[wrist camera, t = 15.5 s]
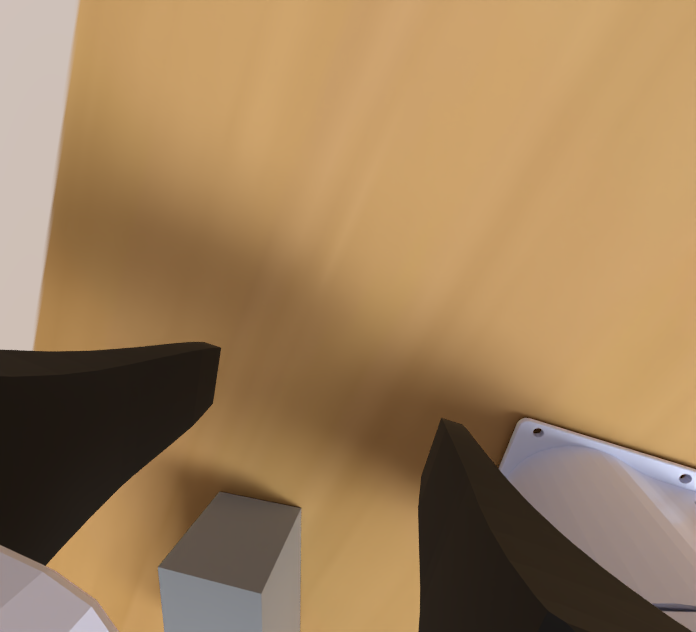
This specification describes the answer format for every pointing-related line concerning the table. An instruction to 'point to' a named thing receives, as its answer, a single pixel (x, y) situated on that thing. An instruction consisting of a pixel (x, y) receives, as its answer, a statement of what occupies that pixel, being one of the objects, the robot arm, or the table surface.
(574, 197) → the table surface
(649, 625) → the robot arm
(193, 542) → the tall grey brick
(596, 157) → the table surface
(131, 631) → the table surface
